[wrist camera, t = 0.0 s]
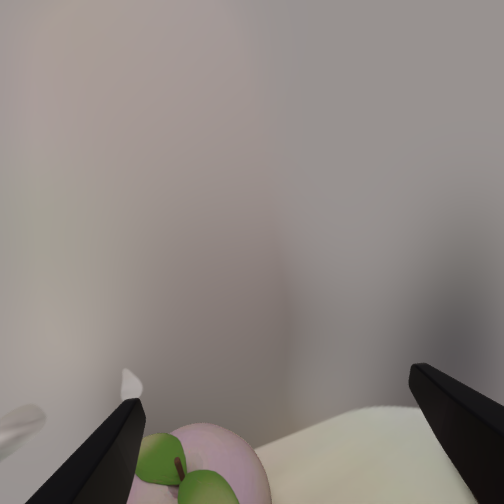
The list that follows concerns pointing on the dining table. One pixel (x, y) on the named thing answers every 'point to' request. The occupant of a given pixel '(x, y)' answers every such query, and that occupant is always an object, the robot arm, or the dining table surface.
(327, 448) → the dining table surface
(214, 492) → the decorative fruit
